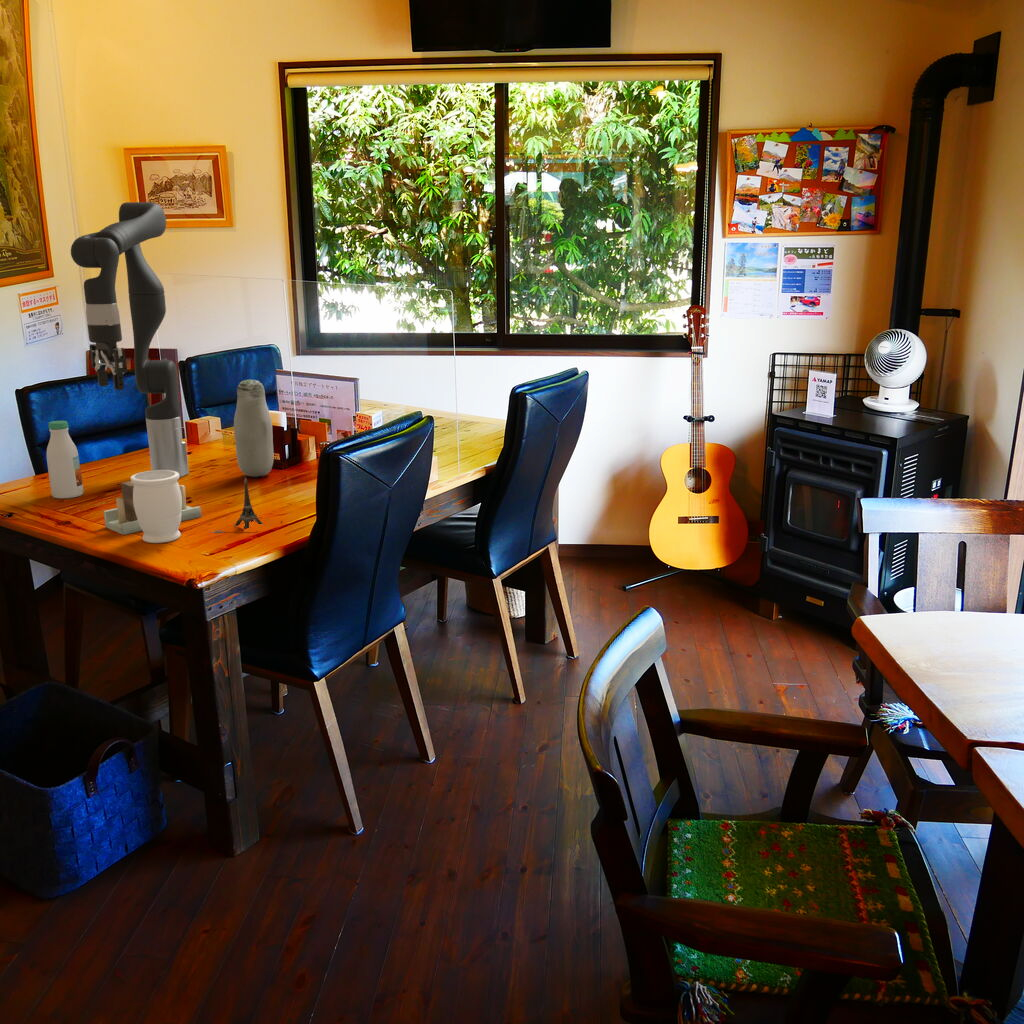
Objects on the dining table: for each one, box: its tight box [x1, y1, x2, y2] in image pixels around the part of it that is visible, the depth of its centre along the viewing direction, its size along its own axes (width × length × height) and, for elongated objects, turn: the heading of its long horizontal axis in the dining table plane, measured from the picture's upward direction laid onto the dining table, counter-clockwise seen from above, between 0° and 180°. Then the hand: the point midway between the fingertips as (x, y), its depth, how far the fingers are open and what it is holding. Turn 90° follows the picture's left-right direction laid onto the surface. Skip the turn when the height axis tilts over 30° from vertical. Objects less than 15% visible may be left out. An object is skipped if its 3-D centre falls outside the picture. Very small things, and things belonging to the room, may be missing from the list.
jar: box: [130, 470, 182, 544], centre depth 210 cm, size 11×10×15 cm
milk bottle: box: [46, 420, 84, 500], centre depth 243 cm, size 8×8×20 cm
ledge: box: [103, 484, 202, 536], centre depth 223 cm, size 20×9×8 cm, turn 138°
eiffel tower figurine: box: [211, 477, 263, 534], centre depth 219 cm, size 15×10×13 cm
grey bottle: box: [233, 379, 275, 478], centre depth 263 cm, size 10×10×28 cm
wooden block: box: [120, 479, 179, 522], centre depth 223 cm, size 12×5×9 cm, turn 138°
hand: (111, 387), depth 231 cm, fingers open, 8 cm apart
